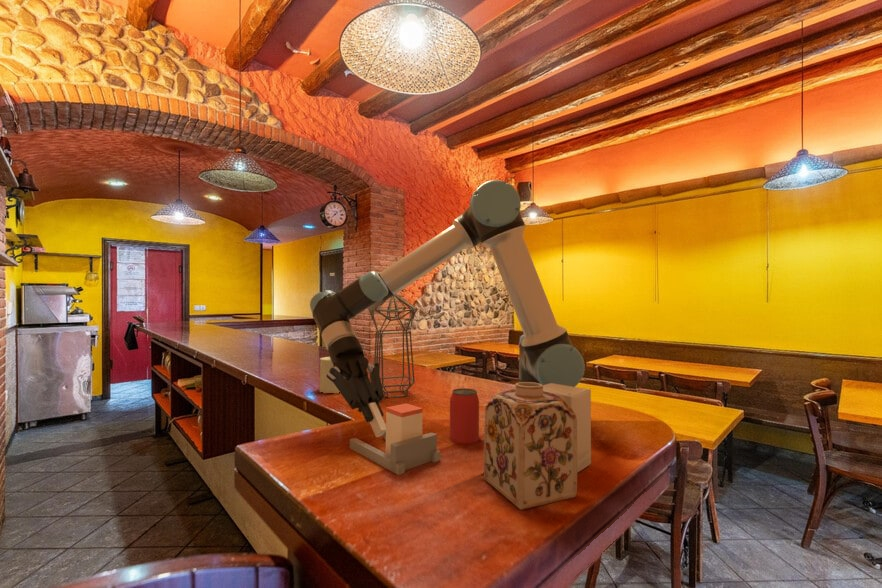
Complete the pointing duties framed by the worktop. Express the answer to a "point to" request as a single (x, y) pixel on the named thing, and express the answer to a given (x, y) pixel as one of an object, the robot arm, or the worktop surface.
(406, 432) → the block
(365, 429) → the worktop surface
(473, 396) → the beer can
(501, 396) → the decorative jar
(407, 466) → the grey tray
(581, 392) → the supplement box
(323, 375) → the can
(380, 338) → the geometric lantern
